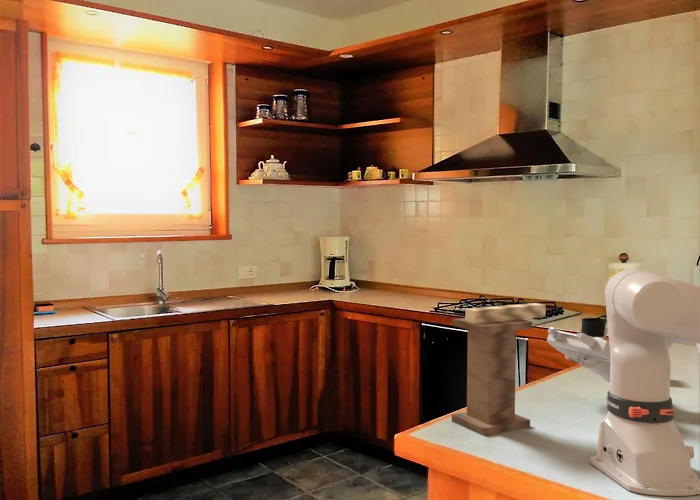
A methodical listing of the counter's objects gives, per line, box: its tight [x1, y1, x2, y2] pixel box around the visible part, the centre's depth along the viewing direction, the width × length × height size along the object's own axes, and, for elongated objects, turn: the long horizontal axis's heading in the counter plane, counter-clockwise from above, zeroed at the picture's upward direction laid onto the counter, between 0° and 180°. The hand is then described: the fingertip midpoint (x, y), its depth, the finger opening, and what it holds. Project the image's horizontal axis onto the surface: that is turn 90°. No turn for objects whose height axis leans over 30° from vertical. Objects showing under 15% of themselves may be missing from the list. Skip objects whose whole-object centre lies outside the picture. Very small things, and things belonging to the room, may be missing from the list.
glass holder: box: [580, 317, 608, 341], centre depth 220 cm, size 9×14×15 cm, turn 21°
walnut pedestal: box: [451, 317, 533, 436], centre depth 159 cm, size 14×12×25 cm
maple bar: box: [464, 302, 547, 324], centre depth 160 cm, size 22×4×3 cm, turn 118°
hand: (564, 332), depth 169 cm, fingers open, 8 cm apart
